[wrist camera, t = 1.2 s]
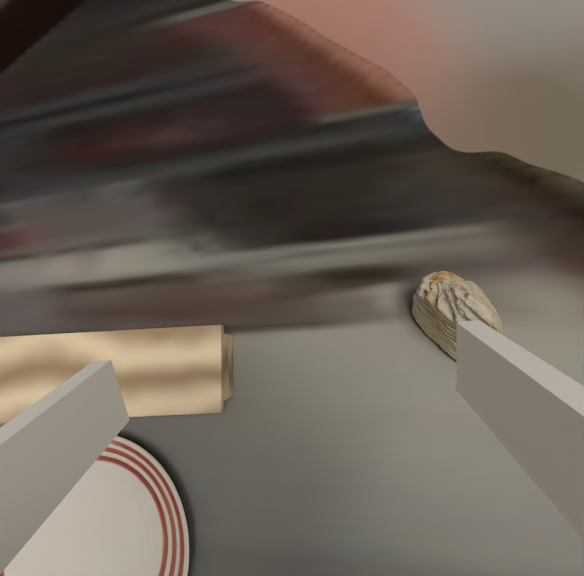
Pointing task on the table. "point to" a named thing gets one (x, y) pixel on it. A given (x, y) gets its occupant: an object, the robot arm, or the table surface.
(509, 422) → the robot arm
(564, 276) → the table surface
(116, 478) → the dinner plate
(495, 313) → the fossil tooth
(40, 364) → the long wooden block
